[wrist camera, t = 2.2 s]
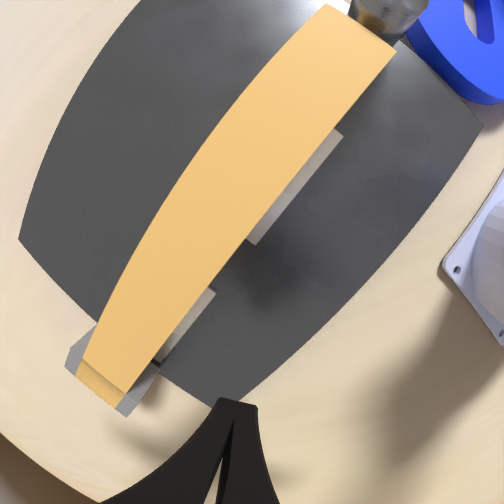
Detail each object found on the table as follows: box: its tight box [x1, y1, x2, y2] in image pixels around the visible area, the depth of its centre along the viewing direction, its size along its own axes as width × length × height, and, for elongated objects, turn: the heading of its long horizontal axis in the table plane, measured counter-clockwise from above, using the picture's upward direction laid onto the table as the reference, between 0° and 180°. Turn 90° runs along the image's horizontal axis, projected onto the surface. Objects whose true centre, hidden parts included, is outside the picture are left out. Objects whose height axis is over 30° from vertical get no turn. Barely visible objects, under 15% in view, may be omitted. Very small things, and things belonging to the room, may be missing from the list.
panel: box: [18, 0, 483, 408], centre depth 10 cm, size 18×22×6 cm
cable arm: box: [64, 3, 397, 417], centre depth 11 cm, size 20×4×3 cm, turn 143°
